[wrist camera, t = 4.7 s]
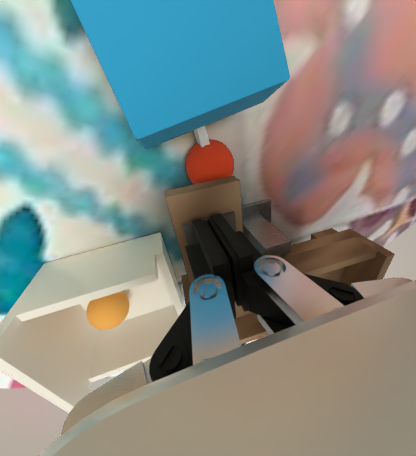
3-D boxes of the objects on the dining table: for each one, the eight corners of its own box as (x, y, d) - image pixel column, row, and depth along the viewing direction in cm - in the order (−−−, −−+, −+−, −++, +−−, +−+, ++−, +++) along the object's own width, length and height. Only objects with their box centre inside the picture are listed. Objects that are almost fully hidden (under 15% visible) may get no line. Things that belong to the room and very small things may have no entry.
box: (160, 231, 16) (167, 294, 10) (183, 300, 21) (197, 369, 15) (44, 263, 15) (-24, 356, 9) (97, 328, 20) (76, 417, 14)
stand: (268, 199, 18) (311, 226, 13) (267, 275, 23) (297, 314, 18) (218, 212, 17) (244, 246, 12) (228, 287, 22) (249, 332, 17)
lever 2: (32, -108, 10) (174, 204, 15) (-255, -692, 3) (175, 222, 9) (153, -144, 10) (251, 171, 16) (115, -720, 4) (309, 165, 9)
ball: (117, 274, 17) (124, 298, 14) (130, 297, 19) (138, 322, 16) (77, 294, 16) (79, 322, 13) (95, 317, 17) (99, 346, 15)
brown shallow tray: (358, 142, 13) (443, 152, 9) (325, 272, 20) (367, 310, 16) (155, 186, 11) (154, 221, 7) (194, 312, 18) (204, 366, 14)
